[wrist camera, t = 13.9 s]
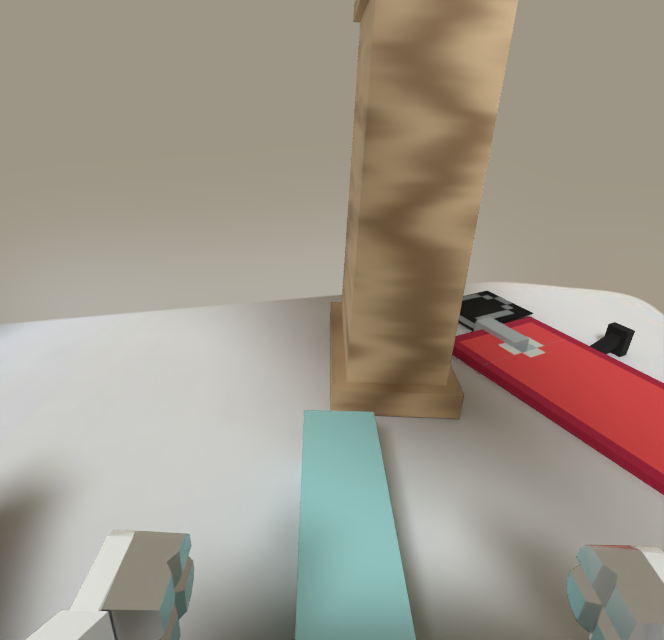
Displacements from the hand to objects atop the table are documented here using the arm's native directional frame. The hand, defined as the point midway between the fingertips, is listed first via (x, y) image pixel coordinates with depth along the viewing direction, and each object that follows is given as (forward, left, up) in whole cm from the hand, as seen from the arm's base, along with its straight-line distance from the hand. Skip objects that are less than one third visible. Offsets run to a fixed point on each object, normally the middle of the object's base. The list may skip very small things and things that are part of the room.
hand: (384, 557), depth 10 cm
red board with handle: (+20, +27, -12) cm, 36 cm away
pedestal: (+4, +27, -11) cm, 30 cm away
